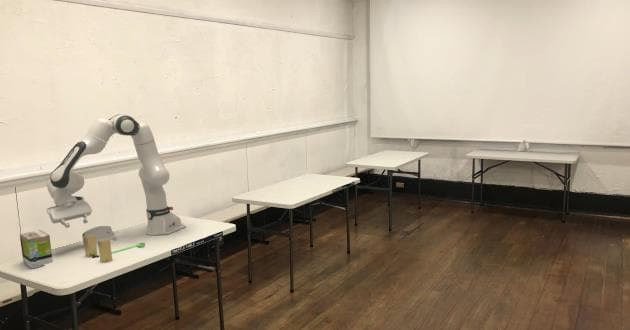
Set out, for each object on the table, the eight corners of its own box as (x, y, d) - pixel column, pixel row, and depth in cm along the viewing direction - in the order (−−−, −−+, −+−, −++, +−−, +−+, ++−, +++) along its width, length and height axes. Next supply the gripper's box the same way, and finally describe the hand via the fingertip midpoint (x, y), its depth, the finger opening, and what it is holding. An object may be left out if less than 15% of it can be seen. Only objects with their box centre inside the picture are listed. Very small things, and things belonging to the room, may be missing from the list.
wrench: (148, 246, 268) (143, 245, 272) (147, 243, 268) (142, 241, 272) (101, 259, 250) (96, 257, 254) (101, 255, 250) (96, 254, 254)
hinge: (87, 248, 270) (82, 230, 271) (84, 249, 274) (79, 231, 274) (117, 239, 283) (112, 222, 283) (113, 241, 286) (108, 224, 287)
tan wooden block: (107, 258, 249) (105, 238, 247) (112, 259, 247) (109, 240, 245) (100, 260, 246) (97, 241, 244) (104, 262, 243) (102, 242, 242)
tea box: (54, 263, 249) (50, 234, 246) (31, 269, 242) (27, 239, 239) (44, 256, 259) (40, 228, 257) (22, 262, 253) (18, 233, 250)
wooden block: (93, 253, 258) (91, 234, 256) (97, 254, 255) (95, 235, 254) (85, 255, 255) (83, 236, 253) (89, 257, 252) (87, 237, 251)
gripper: (46, 204, 254) (58, 226, 250) (86, 196, 270) (97, 216, 265) (43, 212, 258) (55, 233, 253) (83, 203, 273) (94, 223, 269)
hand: (77, 224), depth 259 cm, fingers open, 8 cm apart
